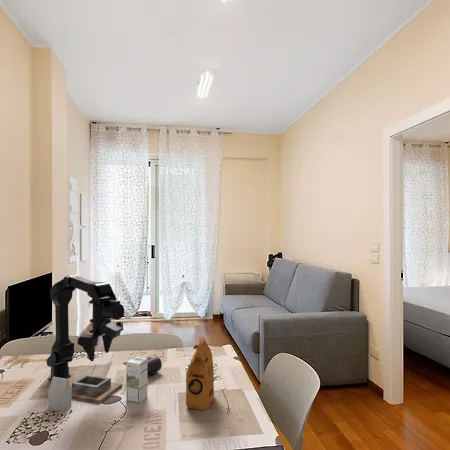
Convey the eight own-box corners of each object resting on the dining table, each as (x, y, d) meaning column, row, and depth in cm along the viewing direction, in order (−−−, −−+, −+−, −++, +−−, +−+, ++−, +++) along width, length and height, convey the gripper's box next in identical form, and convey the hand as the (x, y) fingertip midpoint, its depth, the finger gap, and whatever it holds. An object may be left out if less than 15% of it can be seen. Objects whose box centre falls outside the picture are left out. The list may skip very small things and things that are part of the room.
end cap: (145, 381, 142) (145, 365, 142) (133, 377, 145) (133, 361, 145) (162, 373, 150) (162, 357, 150) (150, 370, 154) (150, 354, 154)
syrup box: (147, 396, 128) (148, 357, 129) (139, 404, 123) (139, 363, 123) (134, 394, 130) (135, 355, 131) (125, 401, 125) (125, 361, 125)
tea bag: (63, 410, 118) (63, 381, 118) (48, 407, 120) (48, 378, 121) (71, 405, 122) (71, 377, 122) (56, 402, 124) (56, 374, 124)
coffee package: (181, 409, 119) (181, 345, 120) (192, 392, 131) (192, 335, 132) (208, 412, 117) (208, 347, 118) (217, 395, 129) (217, 336, 130)
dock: (59, 396, 129) (59, 385, 129) (84, 381, 142) (84, 370, 142) (99, 403, 123) (99, 391, 123) (122, 386, 136) (122, 376, 137)
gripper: (103, 323, 121) (102, 368, 120) (131, 312, 139) (131, 350, 138) (76, 321, 124) (76, 365, 123) (107, 310, 142) (107, 348, 141)
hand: (99, 356), depth 131 cm, fingers open, 9 cm apart
